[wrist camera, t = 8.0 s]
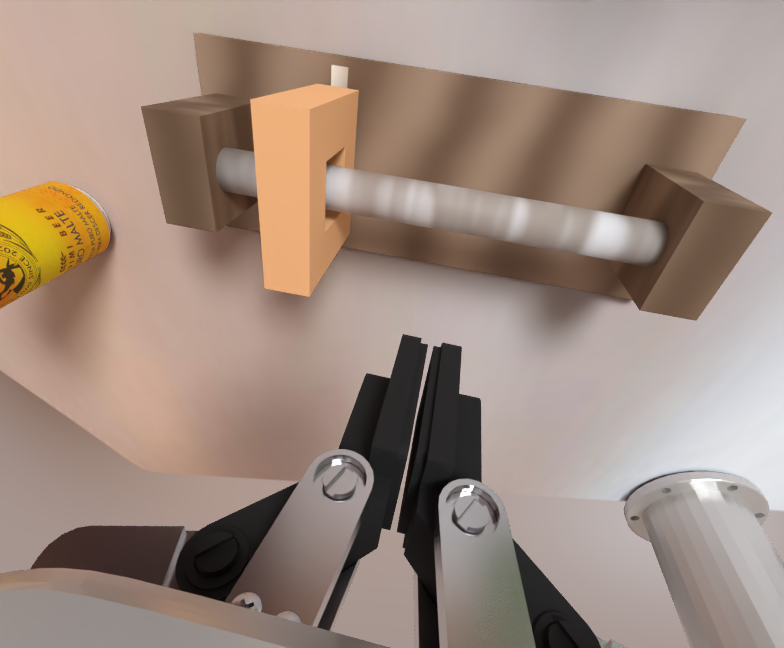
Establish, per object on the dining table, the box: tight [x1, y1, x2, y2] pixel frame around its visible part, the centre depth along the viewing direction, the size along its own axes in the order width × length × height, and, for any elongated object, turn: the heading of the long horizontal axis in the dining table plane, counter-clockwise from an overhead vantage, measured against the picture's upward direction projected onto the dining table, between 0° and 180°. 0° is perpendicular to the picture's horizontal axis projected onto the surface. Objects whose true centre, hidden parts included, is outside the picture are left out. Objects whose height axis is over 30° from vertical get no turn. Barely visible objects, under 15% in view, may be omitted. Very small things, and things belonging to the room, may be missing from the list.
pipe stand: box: [141, 33, 772, 320], centre depth 24 cm, size 32×12×8 cm, turn 83°
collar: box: [250, 84, 359, 297], centre depth 22 cm, size 2×9×9 cm, turn 173°
